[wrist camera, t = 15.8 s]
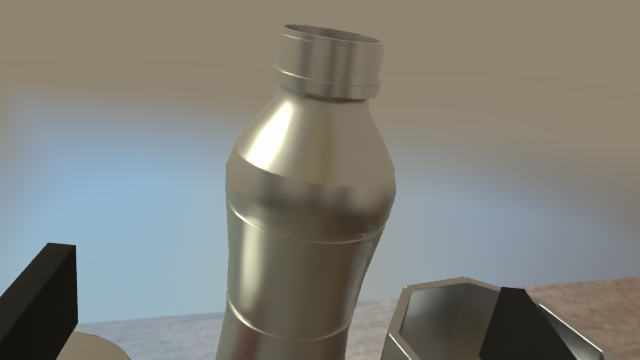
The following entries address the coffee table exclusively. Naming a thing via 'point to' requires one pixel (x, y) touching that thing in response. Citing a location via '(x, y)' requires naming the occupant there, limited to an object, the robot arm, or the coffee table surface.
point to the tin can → (90, 348)
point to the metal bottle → (306, 200)
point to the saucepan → (464, 323)
